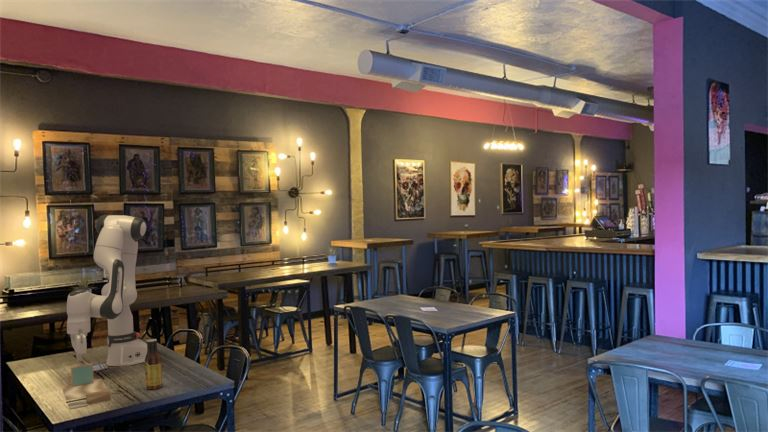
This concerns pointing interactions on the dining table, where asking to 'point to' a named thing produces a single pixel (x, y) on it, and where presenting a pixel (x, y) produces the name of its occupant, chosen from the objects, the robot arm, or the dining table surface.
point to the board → (82, 390)
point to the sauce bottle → (153, 366)
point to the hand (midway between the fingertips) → (79, 360)
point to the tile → (82, 375)
